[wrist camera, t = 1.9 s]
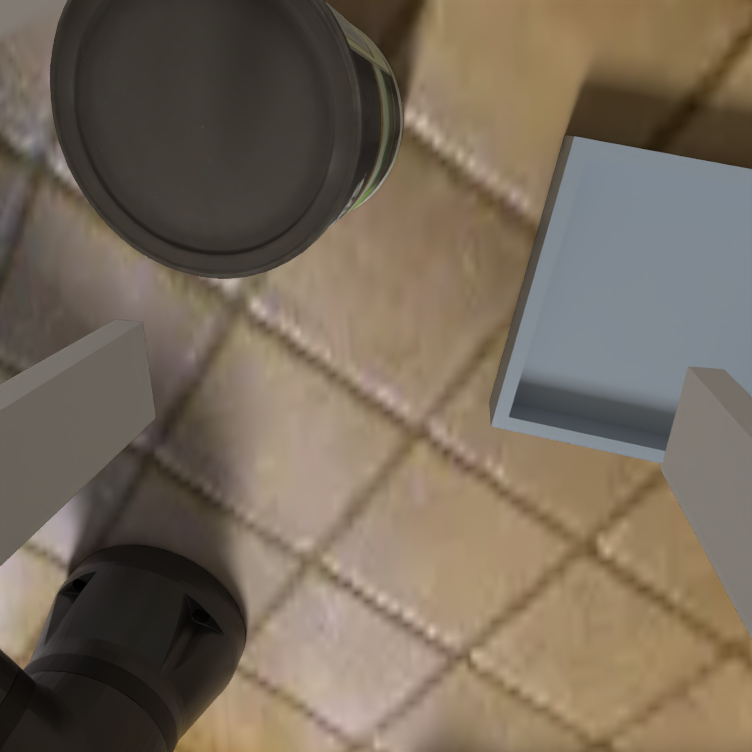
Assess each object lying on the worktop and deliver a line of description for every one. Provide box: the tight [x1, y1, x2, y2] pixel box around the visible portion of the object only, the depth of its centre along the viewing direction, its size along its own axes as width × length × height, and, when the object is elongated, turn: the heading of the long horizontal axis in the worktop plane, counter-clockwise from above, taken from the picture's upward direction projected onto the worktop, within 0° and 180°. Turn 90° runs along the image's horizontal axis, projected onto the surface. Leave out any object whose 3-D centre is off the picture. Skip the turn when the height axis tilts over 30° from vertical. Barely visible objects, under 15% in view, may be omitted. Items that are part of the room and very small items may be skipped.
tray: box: [489, 135, 752, 463], centre depth 31 cm, size 16×16×3 cm
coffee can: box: [50, 0, 403, 279], centre depth 25 cm, size 10×10×14 cm
